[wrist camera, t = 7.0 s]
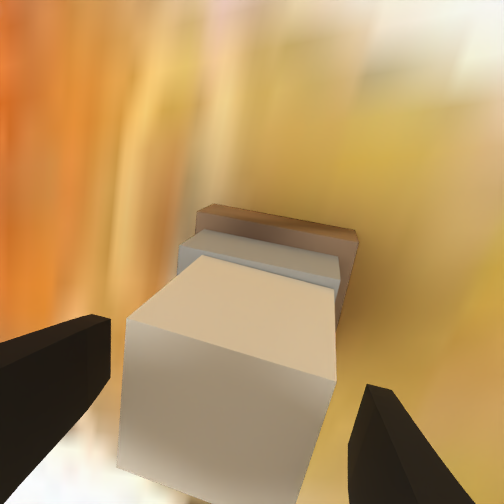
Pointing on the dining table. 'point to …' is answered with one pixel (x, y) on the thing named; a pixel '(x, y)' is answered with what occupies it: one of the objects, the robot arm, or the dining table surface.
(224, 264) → the cream cube
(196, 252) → the grey slab
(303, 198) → the dining table surface
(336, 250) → the walnut slab
